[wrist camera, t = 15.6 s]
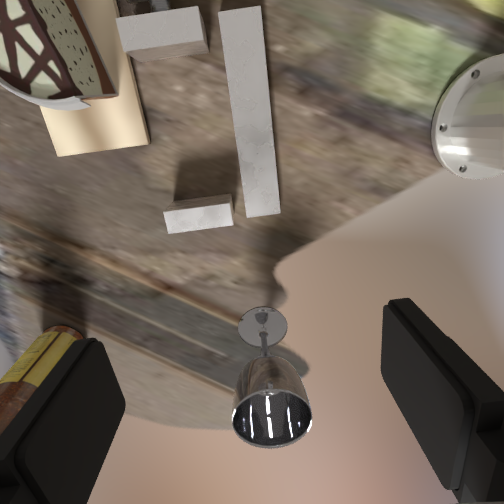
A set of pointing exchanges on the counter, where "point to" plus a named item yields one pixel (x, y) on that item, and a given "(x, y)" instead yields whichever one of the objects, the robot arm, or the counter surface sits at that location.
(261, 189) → the vise
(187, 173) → the counter surface
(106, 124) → the light wood flat board
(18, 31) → the food container
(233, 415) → the wine glass
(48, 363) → the sauce bottle
